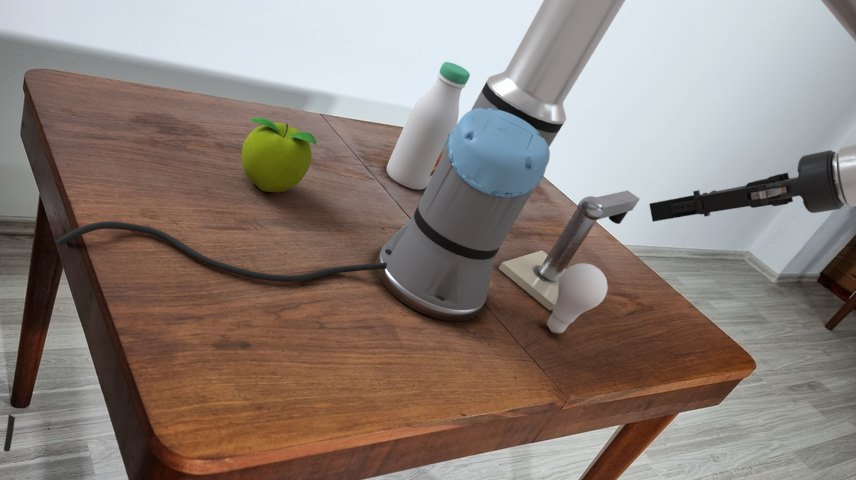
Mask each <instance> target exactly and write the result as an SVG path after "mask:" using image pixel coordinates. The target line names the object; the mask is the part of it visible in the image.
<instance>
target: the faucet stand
mask: <svg viewBox="0 0 856 480" xmlns="http://www.w3.org/2000/svg"><path fill="white" fill-rule="evenodd" d="M547 256H548V253H546V252H545V251H544V250H542V249H540V250H538V251H534V252H531V253H529V254H525V255H522V256H518V257H515V258H512V259H509V260H504V261H502V262H501V263H500V265H499V267H498V270H499V271H501V272H502V273H503V274H504V275H506V276H507V277H508V278H509V279H511V280H512V281H513V282H514V283H515V284H517V285H518V286H519V287H520V288H522V290H524V291H525V292H526V293H528V295H530V296H531V297H532V298H534V299H535V301H537V302H539V303H540V305H542V306H543V307H545V309H547V310H548V311H553V308H554V306H555V304H556V302H557V299H558V287H559V280H560V277H561V276H560V277H559V279H558V280H557V281H551V280H548V279H546V278H545V277H543V276H542V275H541V274H540V272H539V268H540V267H541V265H542V264H543V262H544V260H545V259H546V257H547ZM566 269H567V268H565V270H566ZM565 270H564V271H565ZM564 271H563V272H564ZM562 274H563V273H562ZM562 274H561V275H562Z"/></svg>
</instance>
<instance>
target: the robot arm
mask: <svg viewBox="0 0 856 480" xmlns="http://www.w3.org/2000/svg"><path fill="white" fill-rule="evenodd" d="M820 1H821V2H822V3H823V5H824V6H825V7H826V9H828V11H829V12H830V13H831V14H832V16H833V17H834V18H835V19H836V20H837V21H838V23H839V24H840V26H842V28H843V29H844V30H845V31H846V33H847V34H848V35H849V36H850V37H851V38H852V40H853V41H854V42H855V43H856V0H820ZM625 2H626V0H543V1H542V2H541V5H540V6H539V8H538V10H537V12H536V13H535V16H534V17H533V19H532V21H531V22H530V25H529V26H528V28H527V30H526V32H525V34H524V36H523V37H522V39H521V41H520V43H519V44H518V47H517V48H516V50H515V52H514V54H513V56H512V57H511V59H510V61H509V63H508V65H507V67H506V69H505V70H504V71H502V72H500V73H497V74H493V75H491V76H489V77H488V78H487V80H486V82H485V84H484V85H483V87H482V89H481V91H480V92H479V94H478V96H477V98H476V100H475V102H474V103H473V105H472V107H471V109H470V110H469V111H467V112H466V113H464V114H463V115H462V117H461V118H460V119H459V120H458V122H457V125H456V126H455V127H454V129H453V130H452V132H451V134H450V136H449V139H448V144H447V146H446V149H445V151H444V153H443V155H442V157H441V159H440V161H439V163H438V165H437V167H436V169H435V171H434V173H433V175H432V177H431V180H430V182H429V184H428V186H427V187H426V188H425V189H424V192H423V194H422V197H421V198H420V201H419V202H418V205H417V206H416V209H415V211H414V213H413V214H412V216H411V217H410V219H409V220H408V221H407V222H406V223H404V225H403V226H402V227H400V229H398V230H397V232H395V233H394V234H393V235H392V236H391V237H390V238H389V239H388V240H387V241H386V242H385V243H384V244H383V246H382V247H381V250H380V252H379V253H378V255H377V258H376V261H375V262H373V263H364V264H363V263H361V264H352V265H342V266H335V267H329V268H324V269H320V270H316V271H313V272H309V273H304V274H303V273H302V274H292V275H291V274H290V275H288V274H287V275H286V274H274V273H273V274H271V273H264V272H259V271H258V272H257V271H252V270H248V269H244V268H240V267H236V266H233V265H230V264H226V263H224V262H221V261H217V260H215V259H213V258H210V257H208V256H205V255H204V254H201V253H200V252H198V251H196V250H194V249H193V248H191V247H190V246H188V245H187V244H185V243H184V242H182V241H180V240H178V239H177V238H175V237H174V236H172V235H170V234H169V233H166V232H164V231H161V230H160V229H158V228H157V229H156V228H154V227H150V226H147V225H142V224H135V223H129V222H123V221H99V222H93V223H89V224H86V225H83V226H80V227H78V228H76V229H73V230H72V231H70V232H68V233H66V234H64V235H62V236H61V237H59V238H58V239H57V240H55V244H56V245H58V246H63V245H66V244H67V243H69V242H70V241H72V240H74V239H76V238H78V237H80V236H82V235H85V234H88V233H91V232H94V231H99V230H108V229H109V230H110V229H111V230H112V229H113V230H123V231H131V232H136V233H137V232H138V233H143V234H146V235H147V234H148V235H151V236H153V237H156V238H159V239H161V240H163V241H165V242H167V243H169V244H170V245H172V246H174V247H175V248H177V249H179V250H180V251H181V252H183V253H184V254H186V255H188V256H189V257H191V258H193V259H194V260H196V261H198V262H200V263H202V264H205V265H207V266H210V267H212V268H215V269H218V270H220V271H224V272H226V273H230V274H234V275H238V276H241V277H245V278H249V279H255V280H259V281H268V282H280V283H297V282H298V283H299V282H307V281H310V280H315V279H319V278H321V277H326V276H330V275H335V274H341V273H350V272H353V273H354V272H362V271H373V270H375V271H376V274H377V276H378V278H379V280H380V281H381V282H382V284H383V286H384V287H385V288H386V289H387V290H388V291H389V292H390V293H391V294H392V295H393V296H394V297H395V298H396V299H398V300H399V301H400V302H401V303H403V304H405V306H406V305H407V306H408V307H409V308H410V309H413V310H414V311H417V312H419V313H420V314H423V315H425V316H427V317H431V318H434V319H436V320H442V321H447V322H463V321H468V320H472V319H473V318H474V317H477V315H478V314H479V313H480V311H481V309H482V308H483V306H484V305H485V304H486V303H485V302H486V301H487V298H488V292H489V286H490V281H491V275H492V271H493V270H492V269H493V266H494V265H493V264H494V259H495V257H496V256H497V254H498V252H499V250H500V248H501V247H502V245H503V243H504V242H505V240H506V238H507V237H508V234H509V233H510V231H511V229H512V228H513V226H514V224H515V223H516V221H517V219H518V218H519V216H520V214H521V212H522V211H523V209H524V207H525V206H526V203H527V202H528V200H529V198H530V197H531V195H532V193H533V191H534V190H535V189H536V187H537V186H538V185H539V184H540V183H541V181H542V180H543V178H544V176H545V173H546V168H547V166H548V165H549V162H550V158H551V157H550V156H551V152H550V146H551V145H552V144H553V142H554V140H555V139H556V137H557V135H558V134H559V132H560V130H561V129H562V127H563V125H564V124H565V122H566V121H567V115H566V111H565V107H564V102H565V100H566V99H567V97H568V95H569V94H570V92H571V90H572V88H573V87H574V85H575V84H576V82H577V80H578V79H579V77H580V75H581V74H582V73H583V71H584V69H585V68H586V66H587V64H588V63H589V61H590V59H591V58H592V56H593V54H594V53H595V51H596V49H597V48H598V47H599V44H600V43H601V41H602V40H603V38H604V36H605V35H606V33H607V32H608V30H609V28H610V26H611V24H612V23H613V22H614V20H615V18H616V17H617V15H618V13H619V12H620V10H621V8H622V7H623V5H624V3H625ZM797 173H798V175H797V176H795V177H790V176H789V172H784V173H778V174H775V175H771V176H768V177H767V178H762V179H758V180H754V181H750V182H747V183H746V184H745V185H742V186H737V187H731V188H726V189H720V190H711V191H710V192H703V193H702V194H701V192H700V189H697V190H693V191H692V193H693V195H687V196H682V197H677V198H671V199H665V200H660V201H654V202H650V203H649V205H648V206H649V210H650V215H651V220H652V222H659V221H665V220H671V219H677V218H682V217H683V218H684V217H689V216H696V215H700V216H702V215H703V216H704V217H709V216H711V213H715V212H721V211H727V210H733V209H742V208H746V207H750V208H751V209H752V208H753V209H754V208H761V207H766V206H773V207H778V206H784V205H788V204H790V203H793V202H794V198H795V197H800V198H801V199H802V204H803V206H804V208H805V209H806V210H807V211H808V212H809V213H810V214H817V213H823V212H829V211H835V210H836V211H837V210H841V209H842V208H843V207H844V206H845V204H846V206H848V207H851V208H852V207H856V144H851V145H847V146H842V147H840V148H839V149H838V151H837V153H836V152H835V151H832V150H831V149H829V150H825V151H820V152H819V151H818V152H815V153H809V154H805V155H803V156H801V157H800V158H799V160H798V162H797ZM15 421H16V417H15V416H13V415H11V414H8V419H7V426H6V433H5V439H4V446H3V451H4V452H10V451H11V447H12V442H13V437H14V436H13V435H14V427H15Z"/></svg>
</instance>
